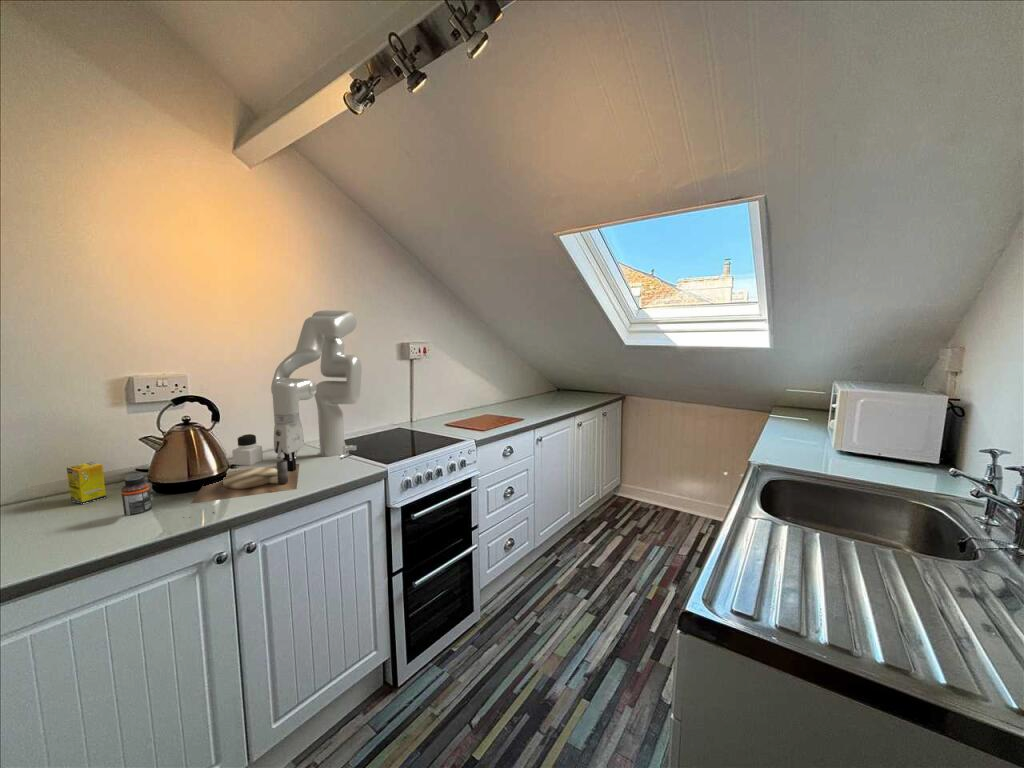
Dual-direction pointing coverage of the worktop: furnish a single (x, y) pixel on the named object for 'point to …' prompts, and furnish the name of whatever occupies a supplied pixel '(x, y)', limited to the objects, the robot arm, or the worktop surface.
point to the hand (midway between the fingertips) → (290, 470)
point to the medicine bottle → (247, 451)
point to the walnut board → (222, 492)
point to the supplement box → (86, 482)
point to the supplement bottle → (136, 496)
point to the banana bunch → (257, 476)
